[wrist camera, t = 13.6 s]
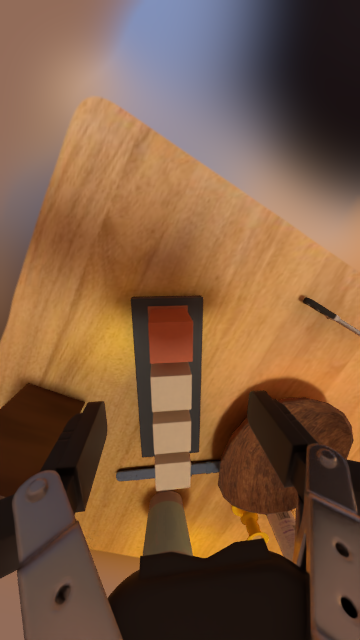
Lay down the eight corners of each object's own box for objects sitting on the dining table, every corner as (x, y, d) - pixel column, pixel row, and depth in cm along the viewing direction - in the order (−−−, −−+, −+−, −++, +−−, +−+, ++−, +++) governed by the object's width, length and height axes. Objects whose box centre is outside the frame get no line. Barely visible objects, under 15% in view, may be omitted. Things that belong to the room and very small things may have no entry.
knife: (370, 339, 32) (384, 344, 30) (367, 343, 32) (380, 348, 30) (300, 295, 28) (310, 298, 26) (297, 300, 29) (307, 302, 27)
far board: (142, 449, 33) (138, 501, 26) (132, 296, 26) (122, 309, 19) (197, 444, 34) (207, 493, 27) (200, 295, 27) (216, 307, 20)
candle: (225, 506, 39) (267, 659, 24) (246, 489, 38) (302, 637, 23) (242, 517, 40) (292, 669, 25) (262, 501, 39) (326, 648, 24)
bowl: (349, 403, 35) (379, 425, 30) (279, 493, 39) (296, 525, 34) (255, 362, 31) (272, 380, 26) (189, 467, 35) (194, 500, 30)
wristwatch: (232, 471, 36) (234, 477, 35) (117, 483, 34) (116, 489, 33) (234, 452, 35) (236, 458, 34) (115, 463, 33) (114, 469, 32)
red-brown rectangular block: (185, 340, 27) (192, 361, 21) (152, 342, 26) (150, 364, 21) (185, 308, 26) (193, 321, 20) (150, 309, 25) (147, 322, 19)
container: (261, 515, 40) (317, 655, 26) (274, 499, 39) (341, 635, 25) (279, 521, 41) (342, 658, 27) (292, 505, 40) (366, 639, 26)
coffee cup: (141, 519, 37) (133, 633, 26) (142, 485, 35) (134, 593, 24) (187, 516, 38) (199, 625, 27) (191, 483, 36) (206, 586, 25)
